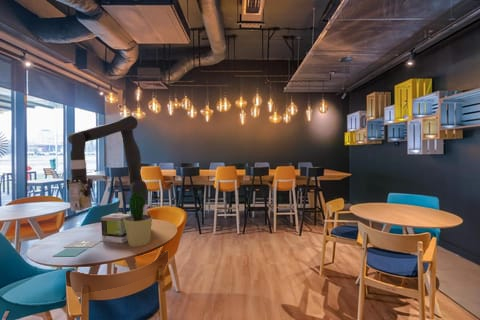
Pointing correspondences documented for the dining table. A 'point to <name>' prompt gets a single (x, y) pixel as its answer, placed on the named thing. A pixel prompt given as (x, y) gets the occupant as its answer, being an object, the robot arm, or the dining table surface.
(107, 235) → the tea box
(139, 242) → the potted cactus
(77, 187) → the coffee box
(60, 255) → the mat
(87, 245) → the plate
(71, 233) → the dining table surface
